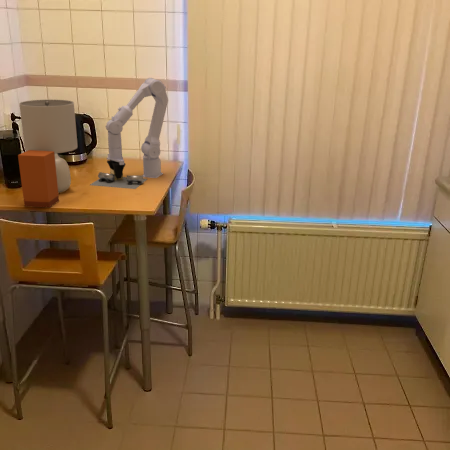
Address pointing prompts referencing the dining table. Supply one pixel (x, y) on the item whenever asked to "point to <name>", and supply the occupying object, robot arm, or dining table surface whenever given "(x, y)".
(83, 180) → the dining table surface
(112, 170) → the tan rectangular block
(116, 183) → the mat
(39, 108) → the lamp
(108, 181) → the shaft
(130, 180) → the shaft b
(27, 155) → the tall terracotta brick
